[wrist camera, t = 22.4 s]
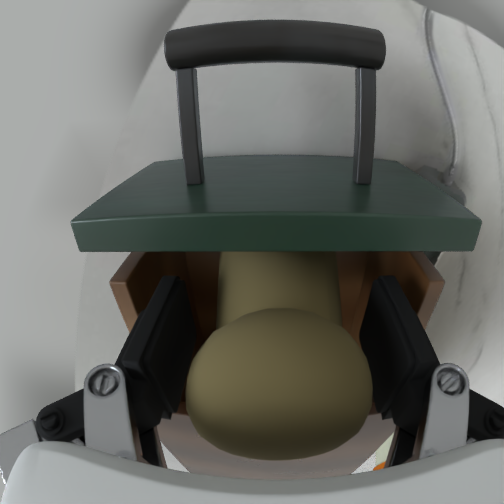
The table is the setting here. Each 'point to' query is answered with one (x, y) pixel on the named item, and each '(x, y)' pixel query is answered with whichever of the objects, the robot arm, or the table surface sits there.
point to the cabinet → (227, 465)
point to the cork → (278, 360)
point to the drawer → (275, 191)
